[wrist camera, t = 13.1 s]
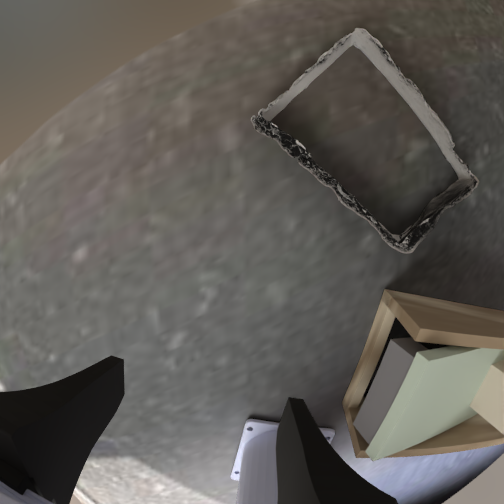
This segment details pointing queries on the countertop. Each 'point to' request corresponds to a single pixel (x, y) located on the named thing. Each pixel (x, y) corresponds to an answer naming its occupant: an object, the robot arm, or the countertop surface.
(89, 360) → the countertop surface
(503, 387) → the beige cube
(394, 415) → the trapdoor
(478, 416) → the trapdoor frame
